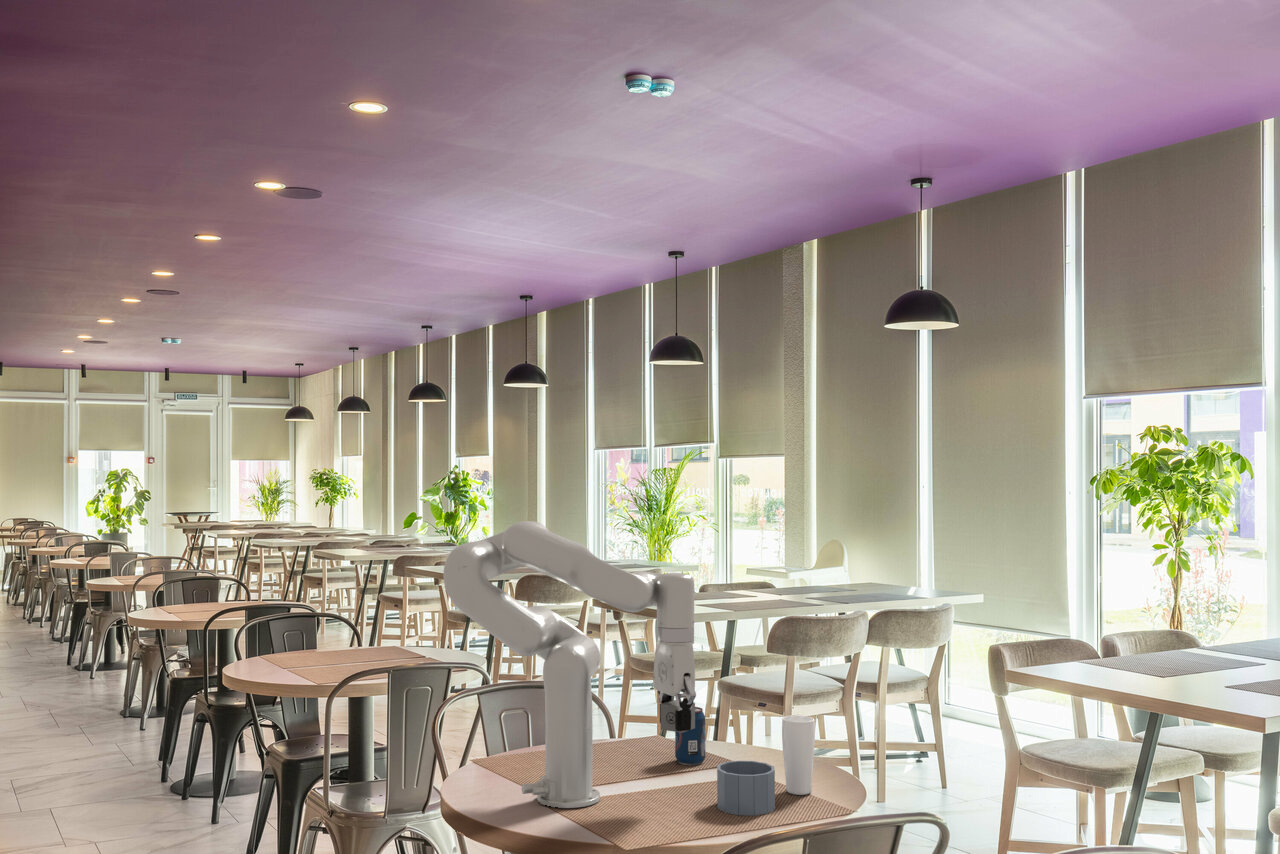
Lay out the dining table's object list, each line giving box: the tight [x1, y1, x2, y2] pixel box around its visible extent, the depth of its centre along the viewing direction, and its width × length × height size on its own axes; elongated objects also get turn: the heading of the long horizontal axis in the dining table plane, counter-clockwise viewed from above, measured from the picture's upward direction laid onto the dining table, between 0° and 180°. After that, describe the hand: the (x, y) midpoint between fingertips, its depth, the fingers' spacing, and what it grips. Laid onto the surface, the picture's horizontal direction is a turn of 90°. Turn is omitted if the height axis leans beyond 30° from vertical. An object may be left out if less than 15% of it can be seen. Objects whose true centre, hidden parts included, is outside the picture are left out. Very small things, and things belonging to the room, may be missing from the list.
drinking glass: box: [781, 714, 816, 796], centre depth 218 cm, size 7×7×15 cm
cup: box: [716, 760, 776, 817], centre depth 208 cm, size 11×11×8 cm
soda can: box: [674, 706, 707, 766], centre depth 242 cm, size 7×7×12 cm
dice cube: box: [660, 699, 696, 733], centre depth 211 cm, size 5×5×5 cm
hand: (675, 726), depth 210 cm, fingers closed on dice cube, 6 cm apart
